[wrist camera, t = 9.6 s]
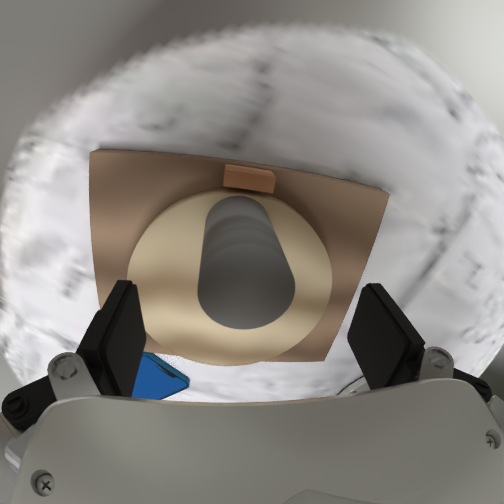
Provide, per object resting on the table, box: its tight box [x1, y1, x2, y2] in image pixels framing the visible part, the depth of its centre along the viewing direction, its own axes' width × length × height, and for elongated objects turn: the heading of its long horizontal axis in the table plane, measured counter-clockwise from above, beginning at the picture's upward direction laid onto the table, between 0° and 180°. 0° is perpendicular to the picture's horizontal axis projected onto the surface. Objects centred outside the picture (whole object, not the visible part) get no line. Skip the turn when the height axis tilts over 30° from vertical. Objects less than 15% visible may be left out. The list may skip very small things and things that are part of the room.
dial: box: [127, 188, 332, 366], centre depth 18 cm, size 15×15×9 cm
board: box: [89, 149, 390, 362], centre depth 22 cm, size 18×22×4 cm
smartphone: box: [132, 351, 190, 400], centre depth 30 cm, size 7×1×15 cm
